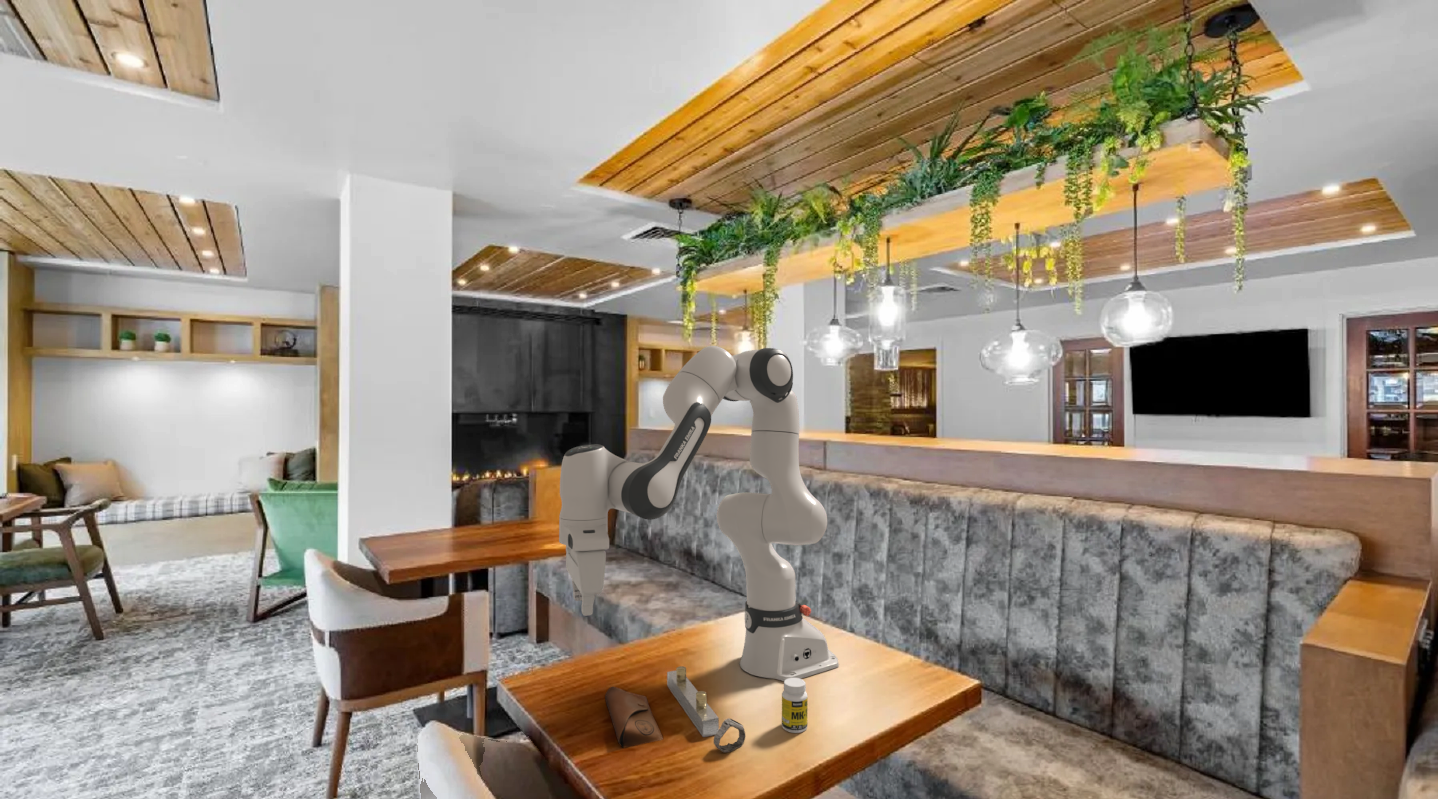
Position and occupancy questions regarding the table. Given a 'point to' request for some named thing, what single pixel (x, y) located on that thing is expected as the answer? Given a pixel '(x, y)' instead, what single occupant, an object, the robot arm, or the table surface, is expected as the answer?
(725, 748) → the wristwatch
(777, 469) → the robot arm
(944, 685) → the table surface
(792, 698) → the supplement bottle
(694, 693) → the white board with knobs
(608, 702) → the sunglasses case
